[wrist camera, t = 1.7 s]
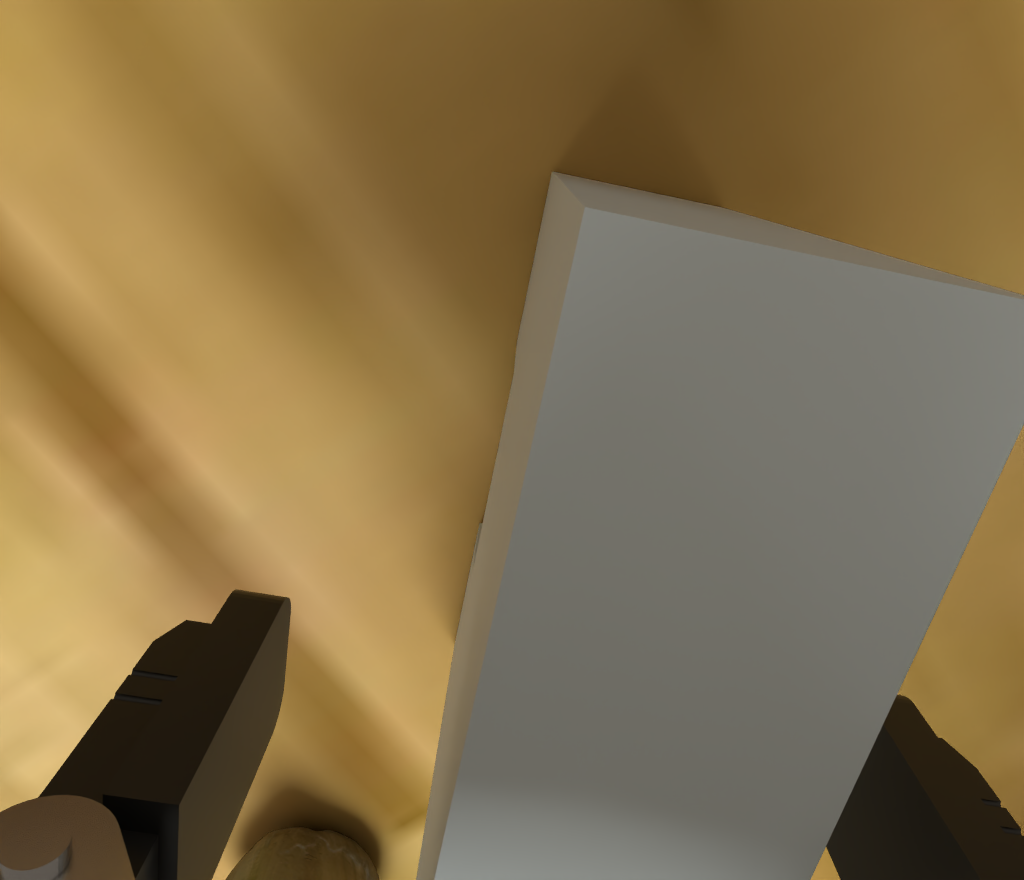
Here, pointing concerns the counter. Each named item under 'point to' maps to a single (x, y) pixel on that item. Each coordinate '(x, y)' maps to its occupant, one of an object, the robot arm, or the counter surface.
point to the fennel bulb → (305, 857)
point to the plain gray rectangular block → (708, 540)
